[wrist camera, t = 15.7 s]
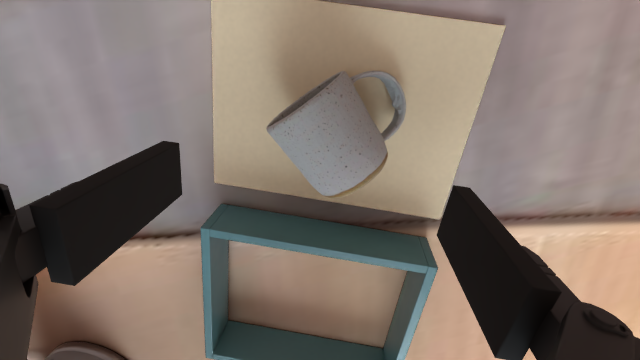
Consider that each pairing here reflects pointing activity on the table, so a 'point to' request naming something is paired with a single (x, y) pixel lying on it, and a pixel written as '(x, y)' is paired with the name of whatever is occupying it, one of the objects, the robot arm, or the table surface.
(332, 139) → the ceramic mug
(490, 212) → the robot arm
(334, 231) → the teal rectangular frame
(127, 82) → the table surface
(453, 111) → the mat
